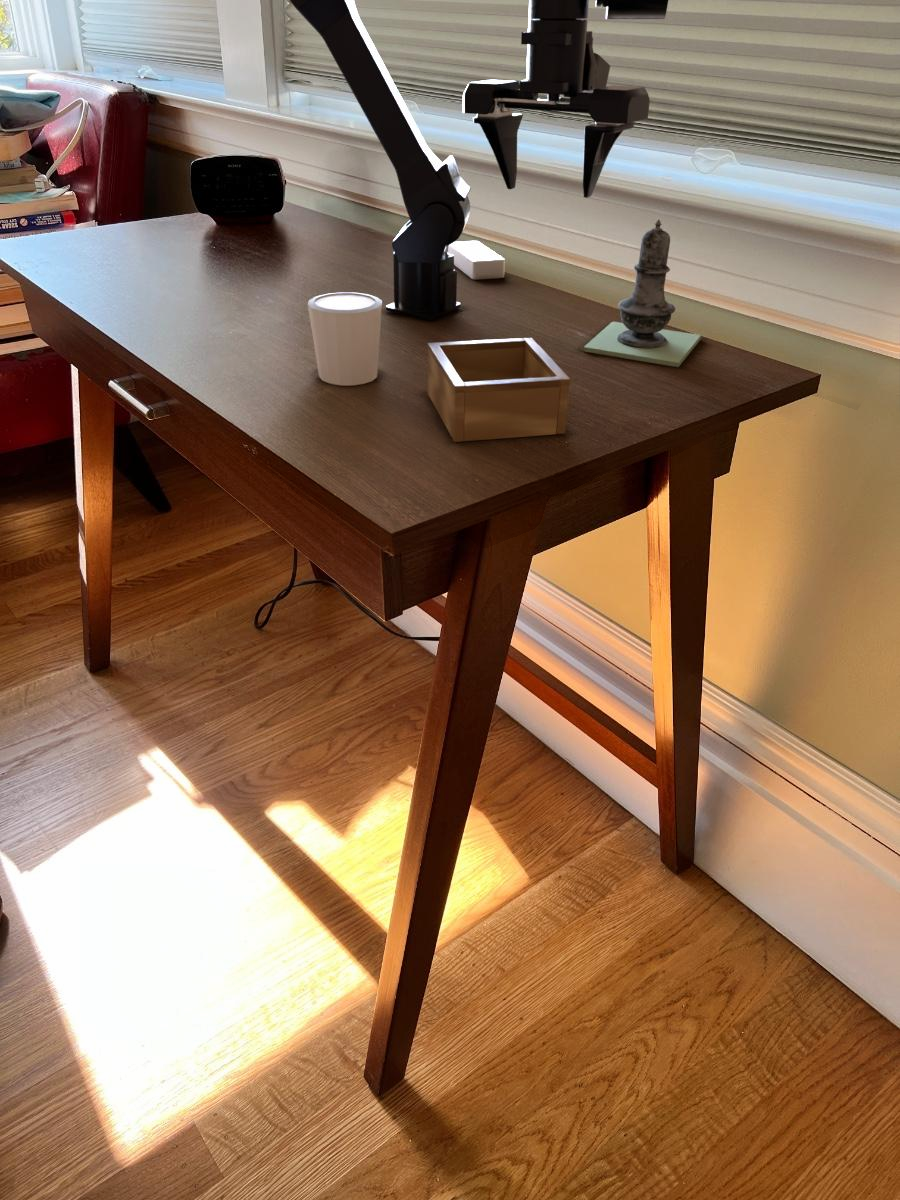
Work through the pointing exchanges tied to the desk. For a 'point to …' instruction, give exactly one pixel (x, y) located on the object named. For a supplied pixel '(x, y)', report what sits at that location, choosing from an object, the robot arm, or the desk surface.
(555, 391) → the open wooden box
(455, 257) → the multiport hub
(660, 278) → the salt shaker
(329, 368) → the white tapered cup
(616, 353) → the mat
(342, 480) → the desk surface
